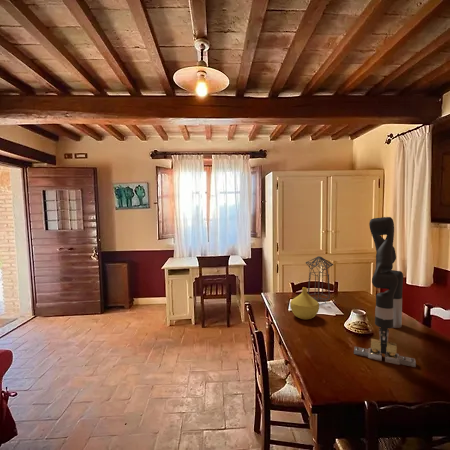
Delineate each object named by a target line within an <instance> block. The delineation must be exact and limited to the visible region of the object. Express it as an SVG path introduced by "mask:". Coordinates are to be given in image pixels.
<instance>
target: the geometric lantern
mask: <svg viewBox="0 0 450 450" xmlns="http://www.w3.org/2000/svg"><path fill="white" fill-rule="evenodd" d="M305 264H306V266H308V268H309V270H308V271H309V272H308V284H307V286H308V288H307V293H308V295H310V296H311V297H312V298H313V299H315V300H316V301H317V302H318V303H319V306H320V305H321V303H322V302H323V303H322V305H325V304H327V301H328V300H330V298H331V292H330V290H331V289H330V274H329V273H328V272H329V271H328V269H330V268H331V267H332V266H334V264H333V263H331V262H330V261H328V260H327V259H326V258H324V257H323V256H320V255H318V256H316V257H314V258H312V259H310V260H308V261H306V262H305ZM314 268H316V270H317V271H314ZM319 269H320V270H319ZM324 271H326V272H324ZM313 273H314V274H313ZM316 273H318V274H316ZM324 274H325V275H324ZM311 275H312V276H315V277H314V280H315V281H314V293H310V289H311V288H310V285H311V277H312V276H311ZM326 276H327V287H328V288H327V290H328V293H327V294H328V295H327V294H325V293H323V291H324V290H323V288H324V287H323V286H324V285H323V281H324V280H321V277H326ZM317 277H318V278H317ZM320 281H321V283H320ZM320 284H321V292H320ZM316 285H317V290H316ZM316 291H317V293H316ZM312 295H317V297H316V296H314V297H313V296H312ZM322 296H325V298H323V297H322Z"/></svg>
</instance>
